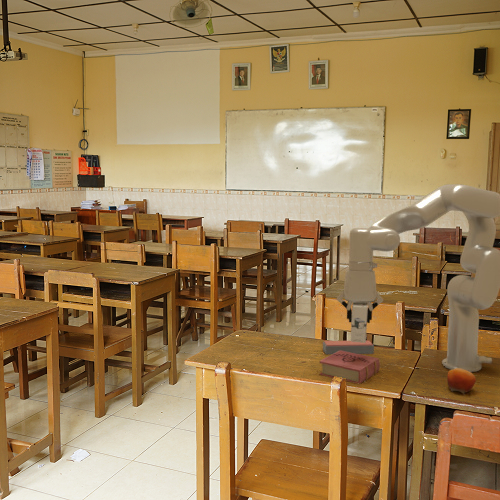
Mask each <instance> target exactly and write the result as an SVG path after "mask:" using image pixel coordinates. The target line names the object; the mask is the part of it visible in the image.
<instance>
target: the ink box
mask: <svg viewBox="0 0 500 500" xmlns="http://www.w3.org/2000/svg"><path fill="white" fill-rule="evenodd" d="M351 310H352V321H351V322H350V325H351V326H350V327H351V328H350V341H351V342H361V343H365V342H366V341H367V329H368V325H367V324H368V323H367V311H368V304H367V302H353V303H352V305H351Z"/></svg>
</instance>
